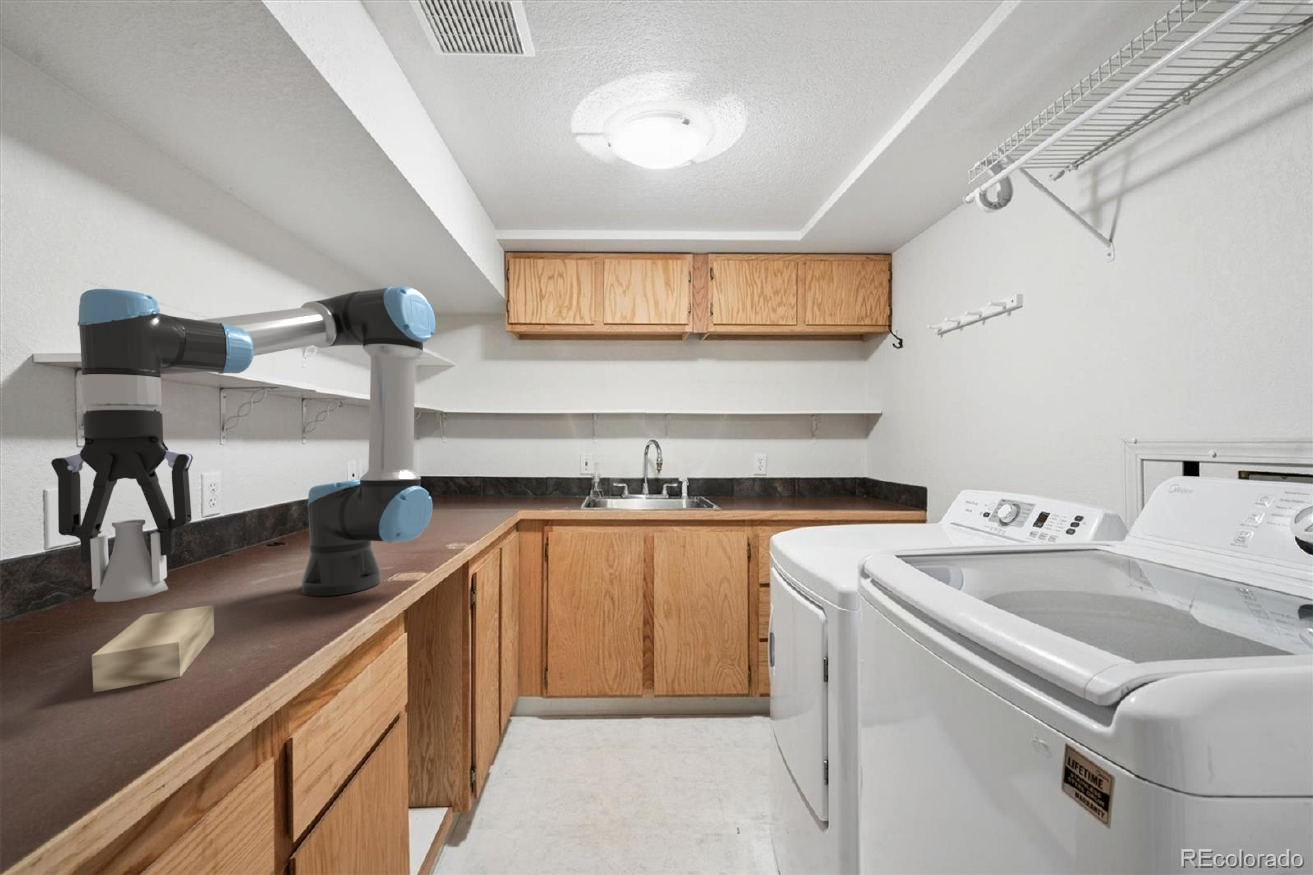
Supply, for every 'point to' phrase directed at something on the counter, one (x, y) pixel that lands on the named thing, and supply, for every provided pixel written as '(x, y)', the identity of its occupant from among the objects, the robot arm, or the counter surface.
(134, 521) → the flask
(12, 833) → the counter surface
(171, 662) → the block
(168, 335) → the robot arm
